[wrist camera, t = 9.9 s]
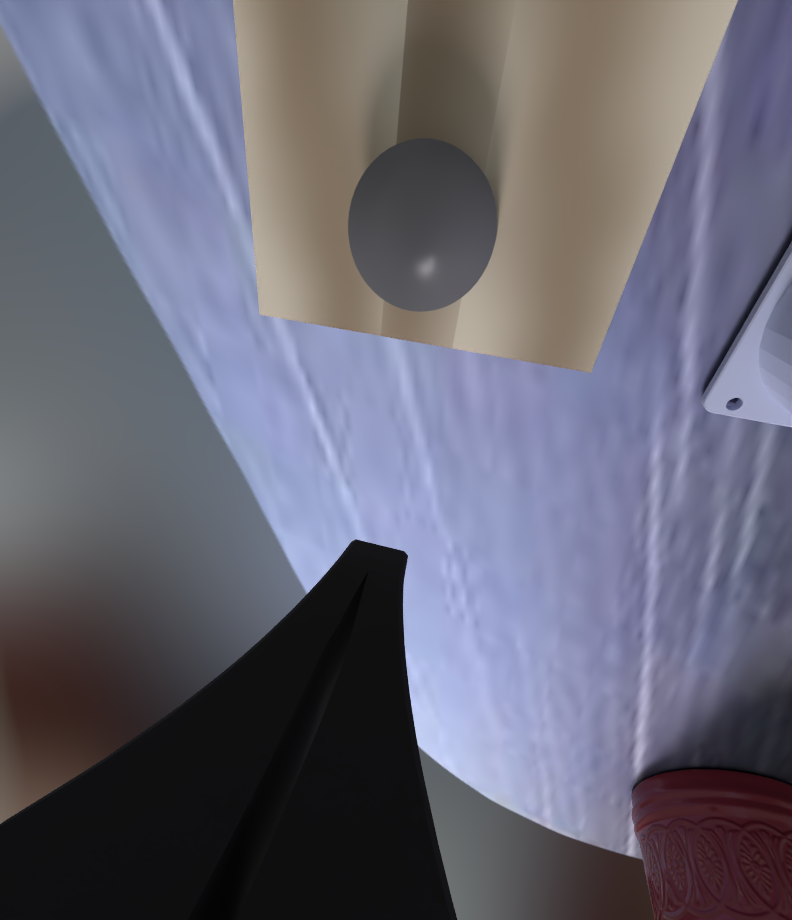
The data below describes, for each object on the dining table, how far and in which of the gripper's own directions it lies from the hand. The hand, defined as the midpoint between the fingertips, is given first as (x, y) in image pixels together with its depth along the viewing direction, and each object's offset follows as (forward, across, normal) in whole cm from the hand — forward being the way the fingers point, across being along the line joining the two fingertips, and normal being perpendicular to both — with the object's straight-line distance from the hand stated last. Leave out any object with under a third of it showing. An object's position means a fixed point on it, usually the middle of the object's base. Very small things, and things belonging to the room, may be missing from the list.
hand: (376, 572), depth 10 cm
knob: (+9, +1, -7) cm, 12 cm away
